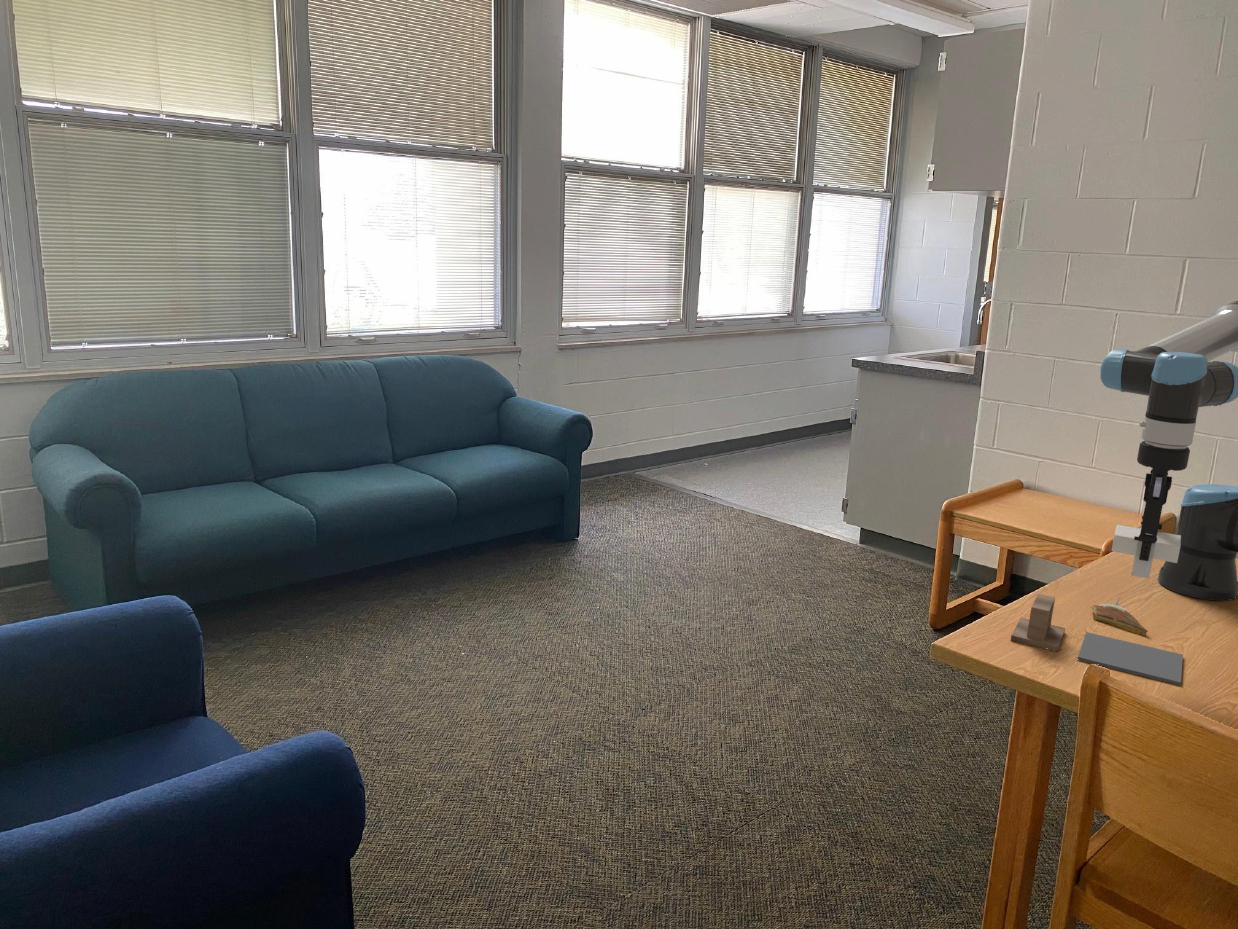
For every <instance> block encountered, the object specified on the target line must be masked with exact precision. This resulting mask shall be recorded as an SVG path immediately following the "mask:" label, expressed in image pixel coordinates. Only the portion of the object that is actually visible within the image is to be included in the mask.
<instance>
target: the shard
mask: <svg viewBox="0 0 1238 929" xmlns="http://www.w3.org/2000/svg"><path fill="white" fill-rule="evenodd" d="M1090 608H1091V609H1092V610H1093V611H1094V612H1093V613H1094V614H1093V615H1092V619H1093V620H1094V621H1098V622H1103V623H1106V624H1108V625H1112V626H1113V627H1117V628H1120V629H1122V630H1126V631H1128V632H1132V633H1134V634H1138V635H1142V636H1146V635H1147V634H1146V633H1148V631H1149V630H1147V629H1146V628H1145V627H1144V626H1143V625H1141V623H1140V622H1139V621H1138V620H1137V619H1136V618H1135V617H1134V615H1132V613H1130V612H1128V610H1127V609H1126V610H1127V611H1126V610H1122V609H1119V608H1116V607H1110V606H1099V605H1097V604H1096V605H1095V604H1094V605H1091V606H1090Z"/></svg>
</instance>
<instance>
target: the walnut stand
mask: <svg viewBox="0 0 1238 929" xmlns="http://www.w3.org/2000/svg"><path fill="white" fill-rule="evenodd" d="M1034 599H1035V600H1034V602H1033V603H1032V605H1031V610H1030V613H1029V615H1030V616H1029V618H1025V617H1024V618H1023V617H1019V620H1018V622H1017V624H1016V626H1015V628H1014V630H1013V632H1012V633H1011V635H1010V641H1012V642H1017V643H1020V644H1024V643H1025V645H1028V644H1029V646H1032V645H1034V646H1033V647H1037V648H1040V647H1042V648H1041V649H1044V648H1048V649H1050V650H1049V651H1052V650H1055V651H1054V652H1056V651H1057V650H1059V648H1060V645H1061V643H1062V641H1063V637H1064V635H1065V631H1066V628H1065V627H1063V626H1058V625H1055V624H1054V625H1053V624H1052V620H1053V619H1052V618H1053V615H1054V614H1053V612H1054V608H1055V601H1056V597H1055V596H1050V595H1045V594H1041V593H1037V595H1036V598H1034ZM1048 649H1047V650H1048ZM1057 652H1058V651H1057Z"/></svg>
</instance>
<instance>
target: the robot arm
mask: <svg viewBox="0 0 1238 929" xmlns="http://www.w3.org/2000/svg"><path fill="white" fill-rule="evenodd" d="M1229 352H1232V353H1233V352H1234V353H1235V352H1236V353H1237V352H1238V300H1235V301H1232V302H1231V303H1227V304H1225V305H1223V306H1221V307H1220V308H1219V307H1218V309H1216V310H1214V312H1213V313H1212V314H1211V316H1210V317H1208V318H1206V319H1205V320H1202V321H1200V322H1197V323H1196V324H1194V325H1191V326H1189V327H1186V328H1185V329H1183V330H1181V331H1180V330H1179V331H1177V332H1176V333H1174V334H1171V335H1169V336H1167V337H1164V338H1163V339H1161V340H1158V341H1156V342H1153V343H1152V344H1150V345H1146V347H1142V348H1140V349H1139V350H1129V349H1113V350H1111V351H1109V353H1108V354H1106V356H1105V357H1104V359H1103V360H1102V363H1101V365H1100V375H1099V377H1100V381H1101V383H1102V384H1103V386H1104V387H1105V388H1107V389H1112V390H1115V391H1120V392H1121V393H1129V394H1135V395H1141V396H1146V397H1147V396H1148V398H1147V399H1148V400H1147V404H1146V405H1147V406H1146V410H1145V415H1144V416H1145V417H1144V421H1140V422H1139V424H1138V425H1139V427H1141V428H1142V432H1141V439H1142V440H1143V441H1141V442H1140V443H1139V447H1138V450H1137V451H1138V452H1137V457H1136V458H1137V459H1136V461H1137V463H1138V464H1139V465H1141V466H1143V467H1145V468H1146V467H1147V468H1148V467H1149V468H1151V470H1150V472H1149V473H1148V472H1146V474H1145V479H1144V487H1145V489H1144V494H1143V502H1145V504H1144V510H1143V515H1142V516H1141V520H1142V521H1141V522H1140V528H1139V529H1141V533H1140V535H1139V537H1136V536H1135V537H1134V540H1137V541H1138V543H1137V548H1136V554H1135V555H1134V559H1133V565H1132V571H1131V576H1134V577H1137V578H1144V579H1147V580H1149V579H1150V577H1151V575H1150V574H1151V571H1152V565H1153V561H1154V560H1153V556H1154V551H1155V546H1156V541H1157V532H1159V530H1162V529H1163V524H1161V523H1160V521H1161V516H1162V512H1163V506H1164V505H1166V503H1167V499H1168V494H1169V491H1170V490H1171V488H1172V483H1173V482H1172V481H1173V480H1172V479H1173V477H1172V476H1170V475H1169V476H1168V474H1169V471H1174V472H1177V471H1184V470H1185V469H1187V468H1188V463H1189V459H1190V458H1189V457H1190V453H1191V449H1190V448H1189V446H1190V445H1192V444H1193V440H1194V435H1195V430H1196V424H1197V416H1198V412H1199V408H1202V407H1218V406H1222V405H1224V404H1227V403H1228V404H1229V403H1230V402H1233V401H1235V400H1236V399H1237V398H1238V366H1237V365H1235V364H1233V363H1231V362H1228V361H1219V360H1214V359H1217V358H1218V357H1221V356H1223V355H1225V354H1227V353H1229ZM1212 360H1214V361H1212ZM1179 512H1180V513H1179V517H1178V518H1179V519H1178V522H1177V528H1176V534H1175V535H1180V536H1181V545H1180V551H1179V556H1178V561H1177V563H1174V562H1168V561H1164V563H1163V565H1162V567H1160V569H1159V571H1158V576H1157V582H1158V583H1159V584H1160V585H1161V586H1163V587H1164V588H1166V589H1168V590H1170V591H1172V592H1174V593H1178V594H1182V595H1184V596H1188V597H1192V598H1195V599H1201V600H1207V601H1218V600H1225V601H1230V600H1229V599H1232V600H1235V599H1236V598H1235V597H1237V598H1238V572H1237V563H1236V560H1237V559H1236V558H1237V554H1238V486H1237V485H1229V484H1214V483H1213V484H1210V483H1209V484H1195V485H1192V486H1190V487H1189V486H1188V488H1187V489H1186V490H1185V492H1184V495H1183V499H1182V503H1181V504H1180V511H1179ZM1149 534H1151V535H1149ZM1234 598H1235V599H1234Z"/></svg>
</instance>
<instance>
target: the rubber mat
mask: <svg viewBox="0 0 1238 929" xmlns="http://www.w3.org/2000/svg"><path fill="white" fill-rule="evenodd" d="M1077 659H1079V660H1082V661H1081V662H1083V661H1086V662H1085V663H1087V662H1089V663H1088V664H1091V663H1093V664H1092V665H1095V664H1099V665H1100V667H1103V666H1104V668H1107V667H1108V668H1107V669H1112V670H1115V671H1116V670H1117V671H1119V672H1124V673H1128V674H1132V675H1136V676H1140V677H1144V678H1149V679H1153V680H1157V681H1160V682H1165V683H1167V684H1173V685H1175V686H1181V684H1182V673H1183V660H1184V654H1181V653H1177V652H1174V651H1169V650H1164V649H1161V648H1157V647H1152V646H1149V645H1143V644H1139V643H1134V642H1130V641H1125V640H1123V639H1122V640H1121V639H1117V638H1114V637H1110V636H1109V637H1108V636H1105V635H1101V634H1096V633H1092V632H1088V631H1086V632H1085V635H1084V637H1083V640H1082V644H1081V647H1080V650H1079V653H1078V657H1077ZM1079 660H1078V661H1079ZM1099 665H1098V666H1099Z"/></svg>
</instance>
